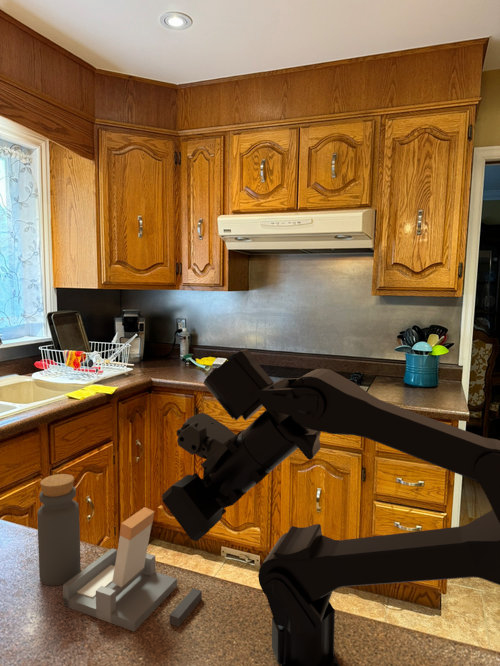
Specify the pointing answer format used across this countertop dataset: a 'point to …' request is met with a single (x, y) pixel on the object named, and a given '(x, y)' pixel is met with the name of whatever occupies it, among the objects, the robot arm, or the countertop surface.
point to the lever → (132, 549)
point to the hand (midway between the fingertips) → (181, 518)
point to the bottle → (58, 530)
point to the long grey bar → (185, 607)
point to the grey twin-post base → (100, 599)
